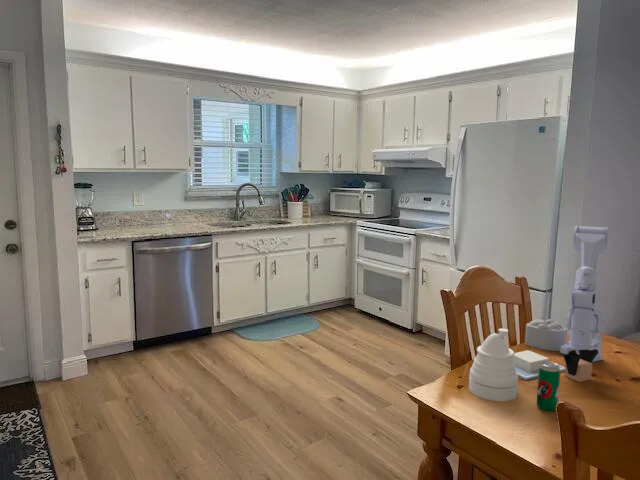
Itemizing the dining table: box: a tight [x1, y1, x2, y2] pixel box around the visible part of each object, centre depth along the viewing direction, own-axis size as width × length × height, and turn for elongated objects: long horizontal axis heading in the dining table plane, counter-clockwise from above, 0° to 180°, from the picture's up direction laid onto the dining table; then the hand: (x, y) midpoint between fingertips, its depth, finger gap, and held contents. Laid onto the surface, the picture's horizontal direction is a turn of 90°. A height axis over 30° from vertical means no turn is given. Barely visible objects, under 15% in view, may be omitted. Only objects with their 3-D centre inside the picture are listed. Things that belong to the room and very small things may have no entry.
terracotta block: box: [564, 359, 593, 383], centre depth 147 cm, size 5×5×5 cm
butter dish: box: [512, 349, 565, 381], centre depth 155 cm, size 18×14×4 cm
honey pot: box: [468, 328, 519, 402], centre depth 137 cm, size 13×13×18 cm
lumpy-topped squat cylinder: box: [524, 318, 568, 352], centre depth 175 cm, size 10×13×9 cm
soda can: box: [535, 361, 561, 413], centre depth 127 cm, size 5×5×12 cm
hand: (578, 372), depth 147 cm, fingers closed on terracotta block, 5 cm apart
